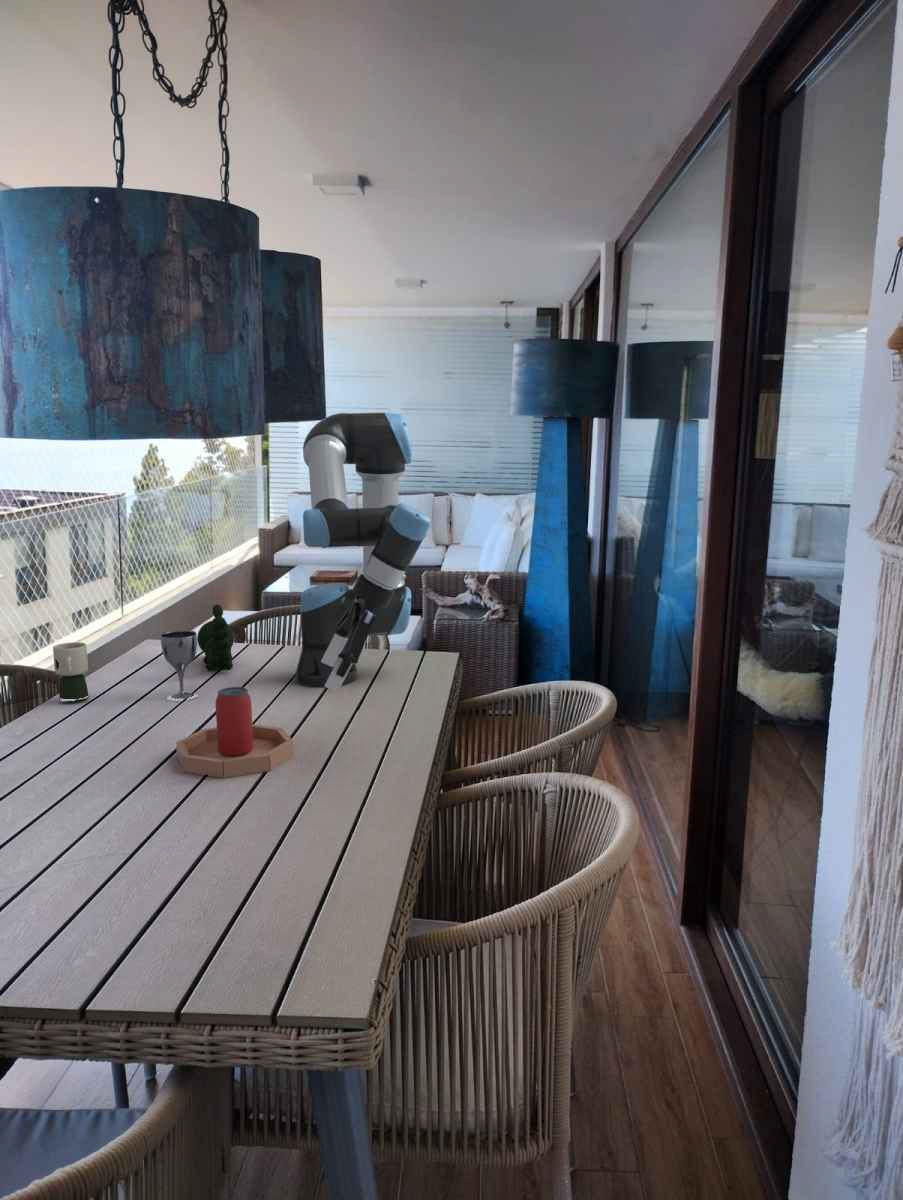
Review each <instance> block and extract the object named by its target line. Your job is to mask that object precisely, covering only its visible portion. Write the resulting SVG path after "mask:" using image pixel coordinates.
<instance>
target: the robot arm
mask: <svg viewBox="0 0 903 1200" xmlns="http://www.w3.org/2000/svg"><path fill="white" fill-rule="evenodd" d="M325 418H326V419H325ZM325 418H324V419H325V420H323V419H321V420H320V421H318V422H317V423H316V424H314V426H313V427H312V428H311V430H309V431H308V433H307V435H306V437H305V439H304V441H303V446H302V455H303V461H304V463H305V464H306V466H307V467H308V474H309V476H308V477H309V486H310V487H309V488H310V489H309V491H310V505H311V509H306V510H304V511H303V513H302V521H303V522H302V527H303V542H304V544H305V546H307V547H308V548H322V549H326V548H341V547H343V548H345V547H362V552H363V554H362V558H363V559H362V561H363V562H362V565H363V566H362V567H363V568H362V569H361V570H362V573H361V574H359V576H358V577H357V580H356V581H355V584H354V586H353V587H352V588H351V589H350V587H349V585H348V584H347V583H345V582H330V583H324V584H320V585H315V586H312V587H309V588H307V589H305V590H304V591H303V592H302V593H301V595H300V608H299V612H300V621H301V627H300V628H301V651H300V655H299V659H298V662H297V664H296V665H297V666H296V669H295V681H296V682H297V683H298V684H300V683H301V685H304V686H308V685H309V686H310V687H324V688H327V689H329V690H331V691H333V692H336V693H338V692H339V690H340V688H341V687H342V685H347V684H350V683H353V682H355V681H356V680H357V679H358V677H359V676H358V667H357V663H358V661H359V659H360V656H361V655H362V654H361V653H362V651H363V649H364V646H365V644H366V641H367V639H368V636H369V637H372V636H374V637H375V636H385V637H389V636H393V635H401V634H403V633H405V632H406V630H407V629H408V626H409V622H410V619H411V618H410V617H411V611H412V603H411V602H412V591H411V589H410V587H408V586H406V585H405V584H406V582H405V579H406V578H407V575H406V574H405V573H406V572H407V570H408V568H409V566H410V565H411V563H412V561H413V559H414V557H415V556H416V553H417V552H418V550H419V548H420V546H421V544H422V542H423V540H424V539H426V537H427V533H428V530H429V529H430V526H431V524H432V523H431V521H432V520H431V518H430V517H429V516H428V515H426V514H425V513H424V512H422V511H421V510H418V509H417V508H415V507H413V506H410V505H409V504H406V503H402V502H401V503H399V499H400V498H399V495H400V493H399V489H400V488H399V484H400V483H399V480H400V478H401V477H402V475H404V473H405V472H406V465H408V464H412V460H413V459H412V458H413V457H412V455H413V453H412V444H411V442H412V441H411V436H410V431H409V427H408V422H407V420H406V418H405V416H403V415H402V414H401V413H392V412H359V413H358V412H357V413H355V412H354V413H346V412H339V413H335V414H331V415H329V416H327V417H325ZM344 465H355V473H356V474H357V475H358V476H359V477H360V478H361V480H362V481H361V483H362V484H361V486H362V487H361V488H362V508H358V507H357V508H356V507H355V508H350V507H349V499H348V491H347V482H346V477H345V468H344V467H345V466H344Z"/></svg>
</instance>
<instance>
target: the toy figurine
mask: <svg viewBox="0 0 903 1200" xmlns="http://www.w3.org/2000/svg"><path fill="white" fill-rule="evenodd" d="M223 614H224V609H223V607H222V605H220V604H218V603H217V604H214V605H213V606H212V615H213V617H214V618H213V619H212V620H209V621H207V622H206V623H204V624H203V625H201V627H200V628H199V630H198V632H197V645H198V646H199V648H200V650H201V651H202V652H203V653H204V657H203V659H202V662H203V663H204V665H205V668H206V670H207V671H209V670H211V671H210V672H214V671H216V670H217V669H218V670H219V669H221V670H223V669H225V670H231V669H232V668H233V666H234V663H233V659H234V658H233V655H232V647H233V646H234V644H235V643H234V641H235V634H234V631H233V628H232V627H231V626H230V625H229V624H228V622H227V621H226V618H225V617H223Z"/></svg>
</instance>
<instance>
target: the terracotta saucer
mask: <svg viewBox="0 0 903 1200" xmlns="http://www.w3.org/2000/svg"><path fill="white" fill-rule="evenodd" d="M252 729H253V749H252V751H251V752H249V753H248V754H245V755H241V756H225V755H222V754H221V753H219V751H218V740H217V726H216V727H210V728H209V727H208V728H202V729H200V730H198V731H196V732H194V733H192V734H191V735H188V736H186V737H184V738H183V739H180V740H179V741H177V742H176V743H175V745H176V759H177V758H178V759H177V760H179V761H178V762H180V763H179V764H181V765H180V767H181V766H182V767H181V769H182V768H183V769H182V772H184V771H185V772H190V773H189V774H192V773H196V774H195V775H198V774H203V775H202V776H205V775H208V776H207V777H212V776H214V777H213V778H218V777H219V778H220V779H227V777H229V778H235V777H240V776H247V775H254V774H260V773H266V772H270V771H271V772H272V771H273V770H274V769H276V768H277V767H279V766H280V765H282V764H283V763H285V762H287V761H289V760H291V758H293V757H294V740H293V739H292V738H291V737H290V736H289V734H288V733H287V732H286V731H285V729H283V727H277V726H270V725H261V724H253V723H252ZM185 772H184V773H185ZM234 776H235V777H234Z"/></svg>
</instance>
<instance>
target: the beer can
mask: <svg viewBox="0 0 903 1200" xmlns="http://www.w3.org/2000/svg"><path fill="white" fill-rule="evenodd" d="M215 716H216V717H215V718H216V720H215V721H216V727H217V740H218V751H219V753H221V754H222V755H225V756H241V755H245V754H248V753H249V752H251V751H252V749H253V729H252V724H253V712H252V700H251V697H250V694H249V690H248V689H247V688H246V687H243V686H231V687H223V688H221V689H219V690H218V691H217V696H216V699H215Z"/></svg>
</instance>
